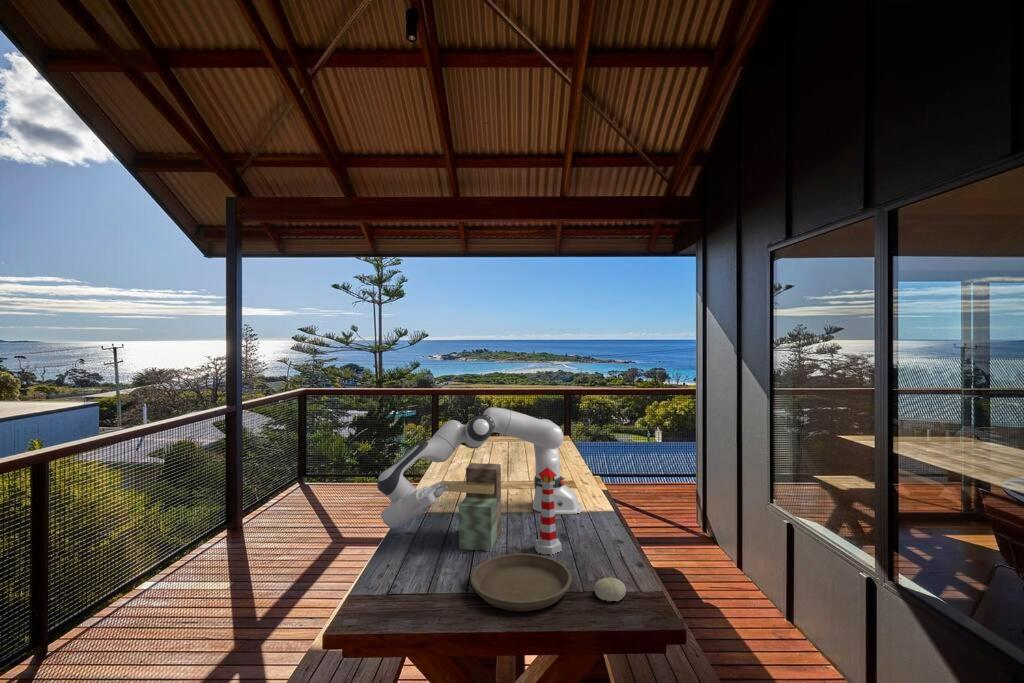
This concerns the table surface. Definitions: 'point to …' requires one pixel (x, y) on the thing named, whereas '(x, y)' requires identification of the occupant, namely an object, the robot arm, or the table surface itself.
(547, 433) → the robot arm
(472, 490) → the brass bar
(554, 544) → the decorative lighthouse
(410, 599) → the table surface
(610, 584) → the sea urchin shell
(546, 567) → the plant saucer
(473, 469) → the two-tone block tower
